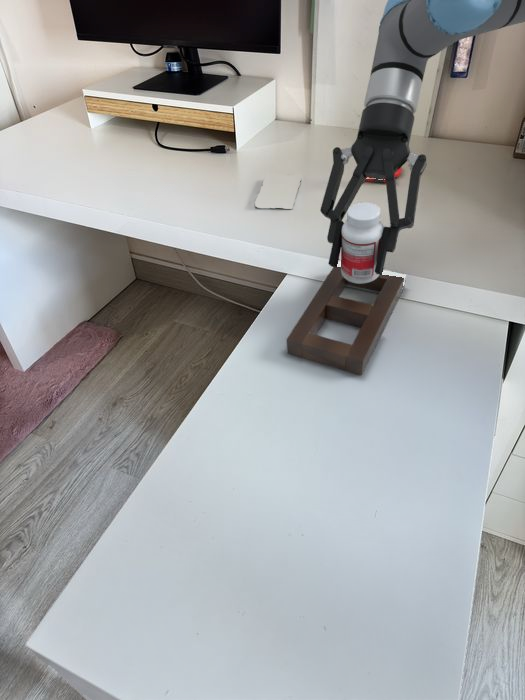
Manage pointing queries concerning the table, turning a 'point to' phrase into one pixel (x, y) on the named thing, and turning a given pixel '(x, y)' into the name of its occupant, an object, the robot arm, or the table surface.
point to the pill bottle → (361, 242)
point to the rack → (347, 312)
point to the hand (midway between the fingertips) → (355, 269)
